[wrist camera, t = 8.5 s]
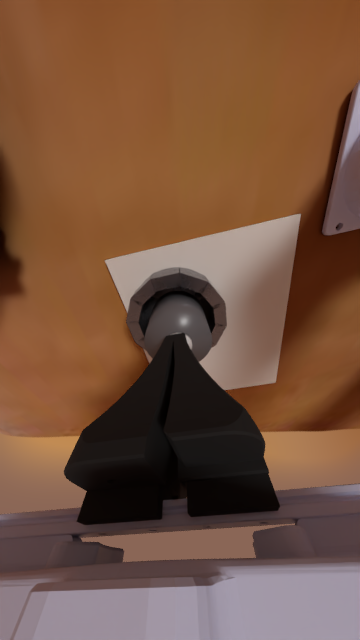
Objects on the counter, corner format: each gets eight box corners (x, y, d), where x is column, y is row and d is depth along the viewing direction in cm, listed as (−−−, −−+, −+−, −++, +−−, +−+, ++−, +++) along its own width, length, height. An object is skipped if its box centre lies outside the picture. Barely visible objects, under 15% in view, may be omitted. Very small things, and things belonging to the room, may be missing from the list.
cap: (209, 296, 14) (223, 323, 10) (195, 338, 17) (201, 374, 13) (156, 285, 14) (147, 309, 10) (149, 331, 16) (140, 365, 12)
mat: (297, 214, 12) (300, 213, 12) (274, 380, 22) (275, 382, 22) (106, 259, 14) (104, 260, 13) (164, 396, 24) (164, 399, 23)
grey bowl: (214, 257, 13) (222, 263, 11) (222, 336, 18) (228, 351, 15) (121, 278, 14) (110, 287, 12) (149, 349, 18) (145, 365, 16)
